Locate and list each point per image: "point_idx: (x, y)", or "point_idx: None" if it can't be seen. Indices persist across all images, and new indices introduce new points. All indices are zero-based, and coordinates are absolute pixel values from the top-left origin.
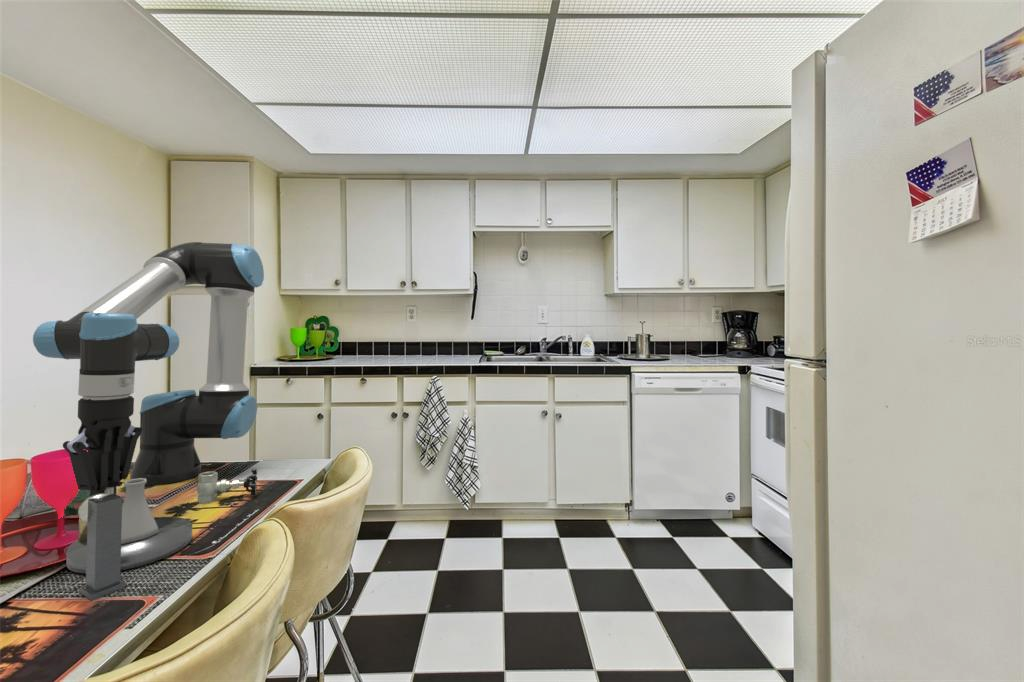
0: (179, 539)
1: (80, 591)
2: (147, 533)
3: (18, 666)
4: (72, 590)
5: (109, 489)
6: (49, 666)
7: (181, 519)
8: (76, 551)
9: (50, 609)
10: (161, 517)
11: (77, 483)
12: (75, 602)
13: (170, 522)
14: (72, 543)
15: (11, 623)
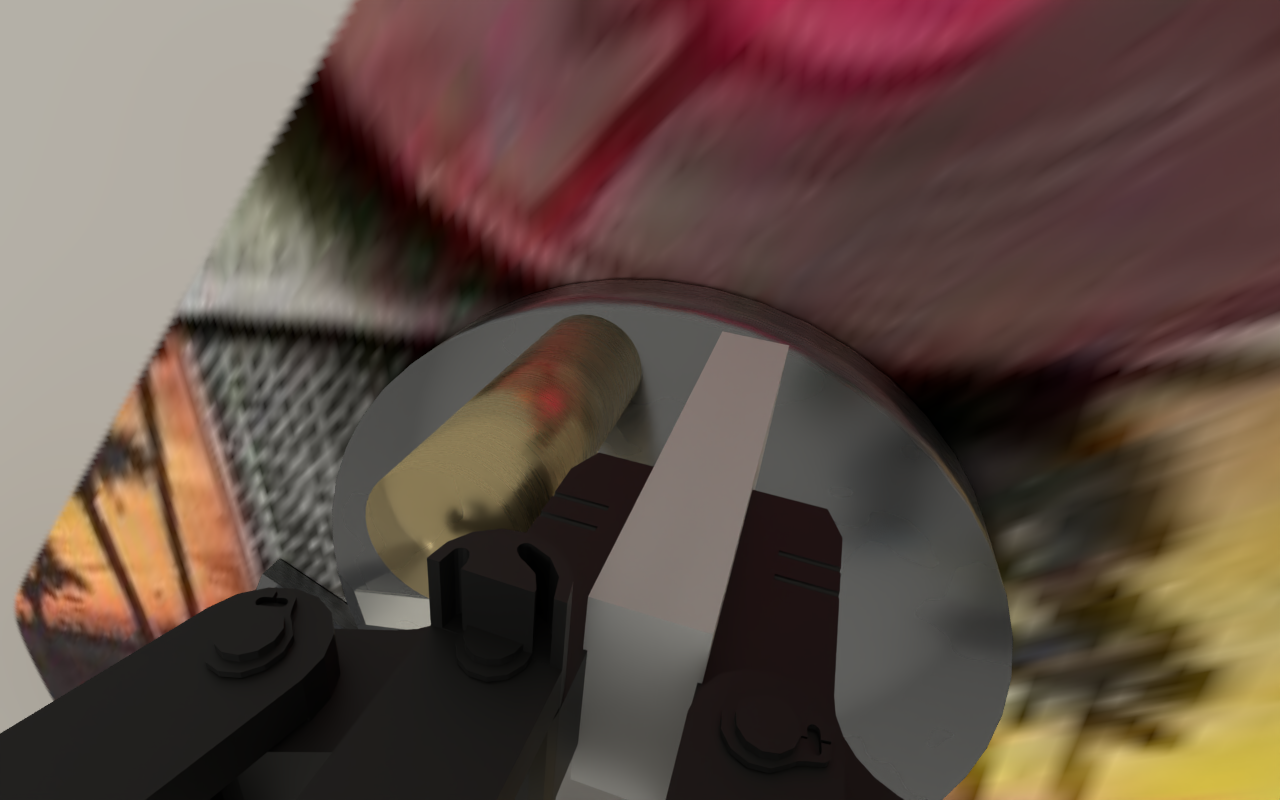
0: None
1: (274, 565)
2: None
3: (24, 613)
4: (285, 523)
5: (605, 779)
6: (53, 671)
7: (911, 797)
8: (401, 439)
9: (182, 530)
10: (997, 674)
11: (75, 700)
12: (233, 580)
13: (858, 754)
14: (502, 322)
15: (96, 466)
